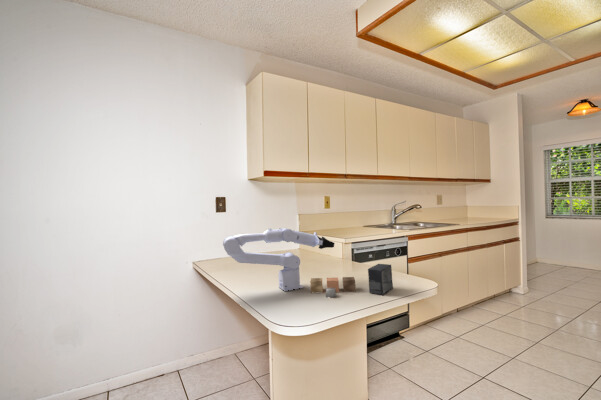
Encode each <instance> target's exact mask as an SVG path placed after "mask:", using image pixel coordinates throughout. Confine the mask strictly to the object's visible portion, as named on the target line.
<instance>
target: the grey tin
mask: <svg viewBox="0 0 601 400" xmlns="http://www.w3.org/2000/svg"><path fill="white" fill-rule="evenodd" d="M336 296H337V292H336V290H335V288H327V287H326V288H325V297H326V298H328V297H330V298H331V299H332V298H336ZM330 298H329V299H330Z"/></svg>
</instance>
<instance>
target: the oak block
mask: <svg viewBox="0 0 601 400" xmlns="http://www.w3.org/2000/svg"><path fill="white" fill-rule="evenodd" d="M311 292H324V289H323V277H315V278H314V277H313V278H312V277H311V278H310V293H311Z"/></svg>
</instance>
